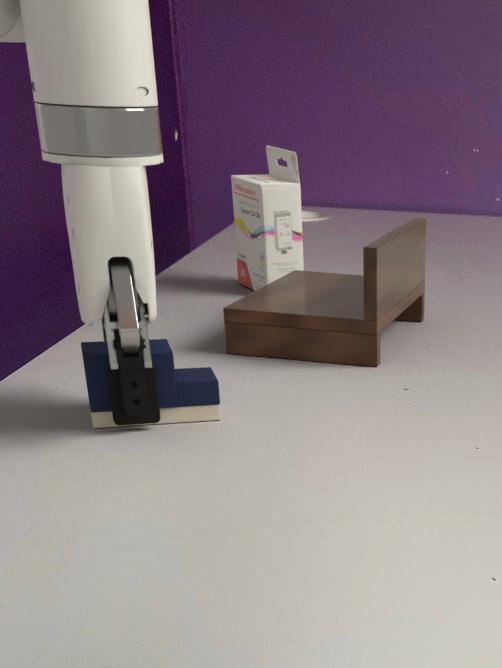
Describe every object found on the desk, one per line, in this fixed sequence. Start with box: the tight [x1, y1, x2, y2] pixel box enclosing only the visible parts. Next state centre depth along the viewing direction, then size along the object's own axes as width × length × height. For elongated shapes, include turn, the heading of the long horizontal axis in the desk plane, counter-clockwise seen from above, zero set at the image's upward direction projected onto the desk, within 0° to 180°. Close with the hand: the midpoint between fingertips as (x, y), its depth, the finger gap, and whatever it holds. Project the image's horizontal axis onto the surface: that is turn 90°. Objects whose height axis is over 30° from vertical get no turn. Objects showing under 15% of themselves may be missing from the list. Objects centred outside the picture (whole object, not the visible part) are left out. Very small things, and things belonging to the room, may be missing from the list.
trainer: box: [80, 338, 222, 429], centre depth 76 cm, size 9×4×5 cm, turn 111°
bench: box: [222, 217, 427, 368], centre depth 99 cm, size 14×20×10 cm
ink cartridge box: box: [230, 144, 305, 292], centre depth 116 cm, size 9×5×15 cm, turn 34°
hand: (133, 408), depth 76 cm, fingers open, 4 cm apart
